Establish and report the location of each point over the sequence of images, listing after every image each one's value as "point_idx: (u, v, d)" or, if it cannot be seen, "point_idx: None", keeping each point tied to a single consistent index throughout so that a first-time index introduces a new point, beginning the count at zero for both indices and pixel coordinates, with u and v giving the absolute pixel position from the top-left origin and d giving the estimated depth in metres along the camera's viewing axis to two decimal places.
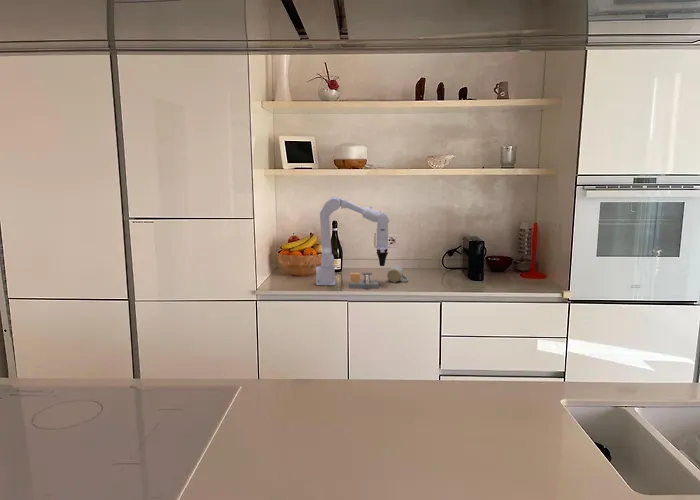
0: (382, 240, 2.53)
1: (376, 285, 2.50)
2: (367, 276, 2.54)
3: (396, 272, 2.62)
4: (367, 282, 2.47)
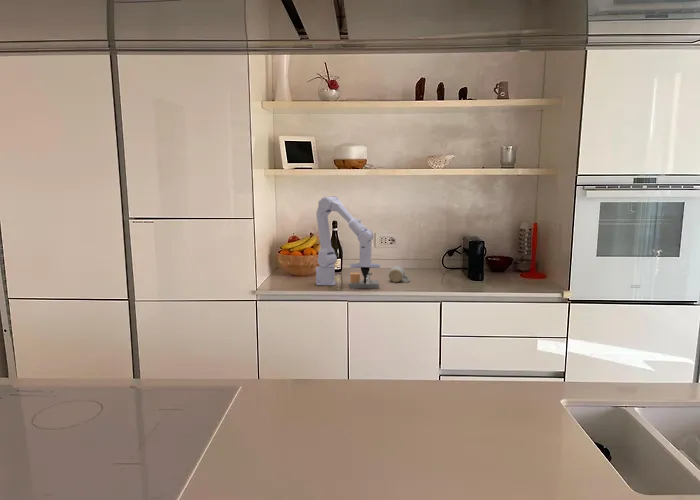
0: None
1: (376, 285, 2.50)
2: (367, 276, 2.54)
3: (398, 272, 2.62)
4: (367, 282, 2.47)
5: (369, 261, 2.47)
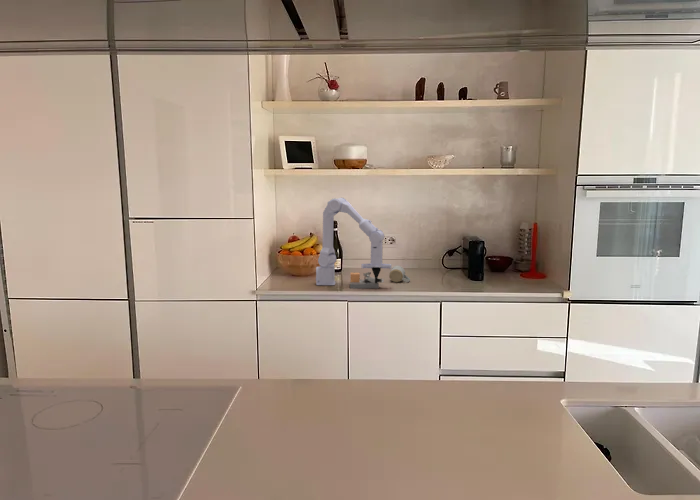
0: None
1: (376, 285, 2.50)
2: (369, 276, 2.55)
3: (398, 272, 2.62)
4: (382, 280, 2.51)
5: (380, 261, 2.47)
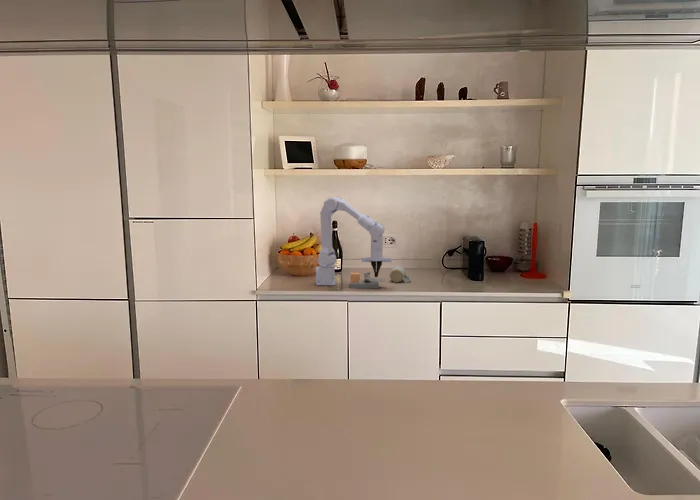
0: None
1: (376, 285, 2.50)
2: (369, 276, 2.55)
3: (399, 272, 2.61)
4: (383, 280, 2.52)
5: (380, 255, 2.46)
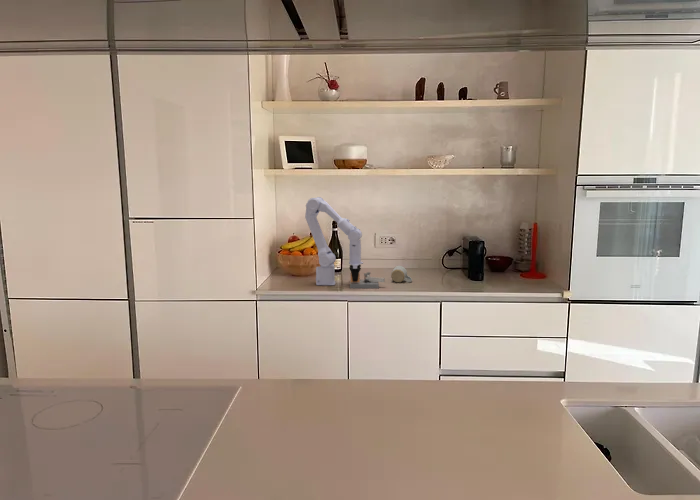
0: (355, 256, 2.52)
1: (376, 285, 2.50)
2: (369, 276, 2.55)
3: (400, 272, 2.61)
4: (383, 280, 2.52)
5: None
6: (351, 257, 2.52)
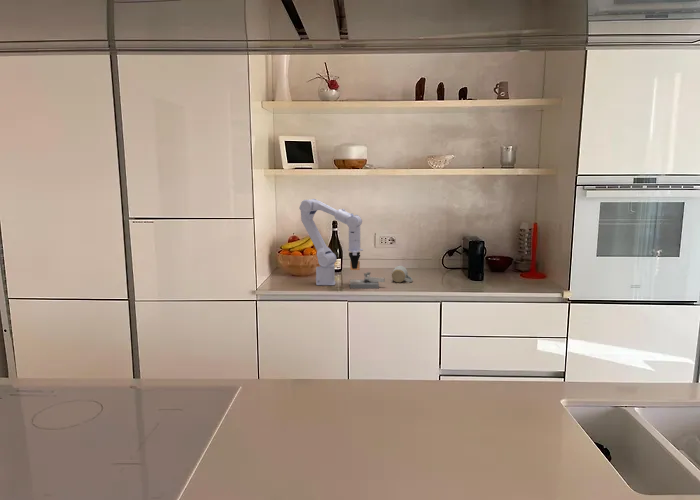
0: (354, 243, 2.49)
1: (376, 285, 2.50)
2: (369, 276, 2.55)
3: (400, 272, 2.61)
4: (383, 280, 2.52)
5: None
6: (350, 244, 2.49)
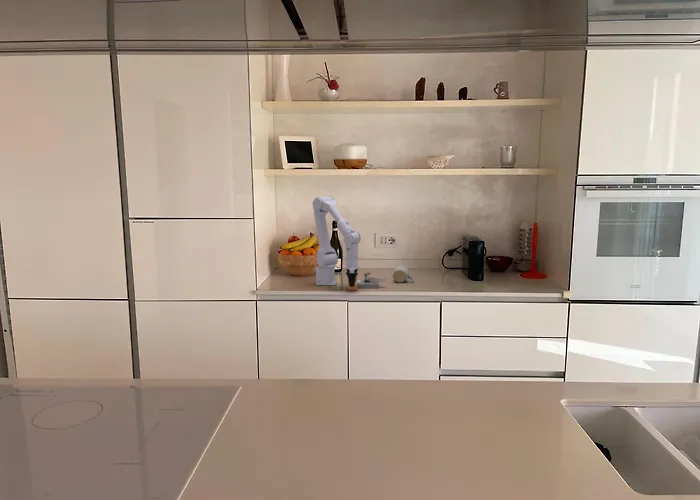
0: (352, 260, 2.43)
1: (376, 285, 2.50)
2: (369, 276, 2.55)
3: (402, 272, 2.61)
4: (383, 280, 2.52)
5: None
6: (348, 261, 2.44)
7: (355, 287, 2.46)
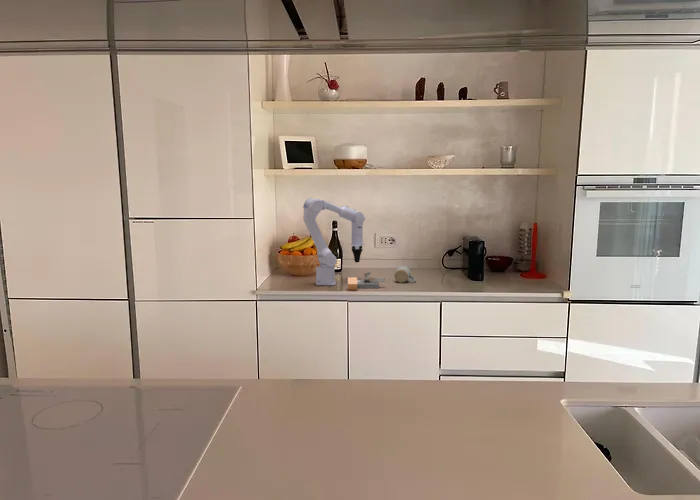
0: (357, 237, 2.62)
1: (376, 285, 2.50)
2: (369, 276, 2.55)
3: (403, 272, 2.61)
4: (383, 280, 2.52)
5: None
6: (353, 238, 2.63)
7: (355, 287, 2.46)
